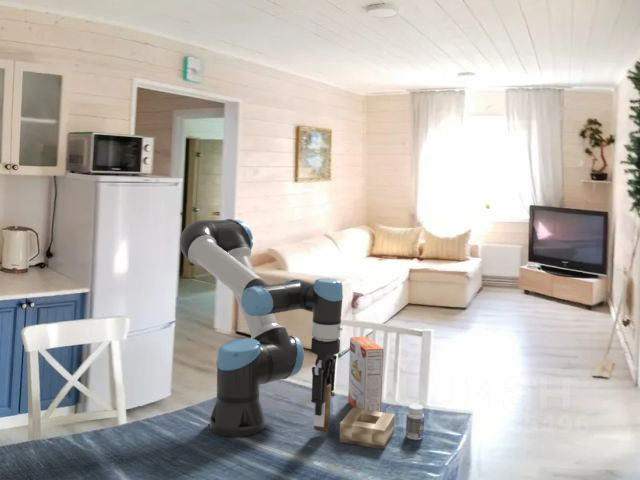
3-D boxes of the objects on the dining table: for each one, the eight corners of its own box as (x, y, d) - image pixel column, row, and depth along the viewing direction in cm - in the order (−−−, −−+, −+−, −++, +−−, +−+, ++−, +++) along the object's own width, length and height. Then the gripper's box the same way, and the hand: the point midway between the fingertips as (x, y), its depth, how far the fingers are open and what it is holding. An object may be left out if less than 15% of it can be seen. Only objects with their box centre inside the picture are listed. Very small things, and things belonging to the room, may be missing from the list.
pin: (311, 429, 158) (314, 386, 157) (317, 423, 162) (319, 381, 161) (326, 432, 157) (328, 388, 156) (330, 426, 161) (333, 383, 159)
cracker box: (346, 402, 185) (349, 336, 183) (364, 400, 187) (367, 335, 185) (362, 419, 172) (365, 349, 170) (381, 418, 173) (384, 348, 171)
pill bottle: (422, 441, 159) (424, 410, 158) (405, 439, 160) (406, 408, 159) (423, 433, 163) (425, 404, 162) (406, 431, 164) (407, 402, 163)
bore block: (339, 441, 157) (340, 423, 156) (352, 424, 168) (353, 407, 168) (383, 449, 153) (384, 430, 152) (394, 431, 164) (394, 414, 164)
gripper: (329, 347, 148) (324, 437, 150) (348, 331, 164) (344, 413, 166) (300, 343, 150) (296, 432, 153) (323, 328, 166) (319, 408, 169)
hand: (321, 422), depth 159 cm, fingers closed on pin, 4 cm apart
